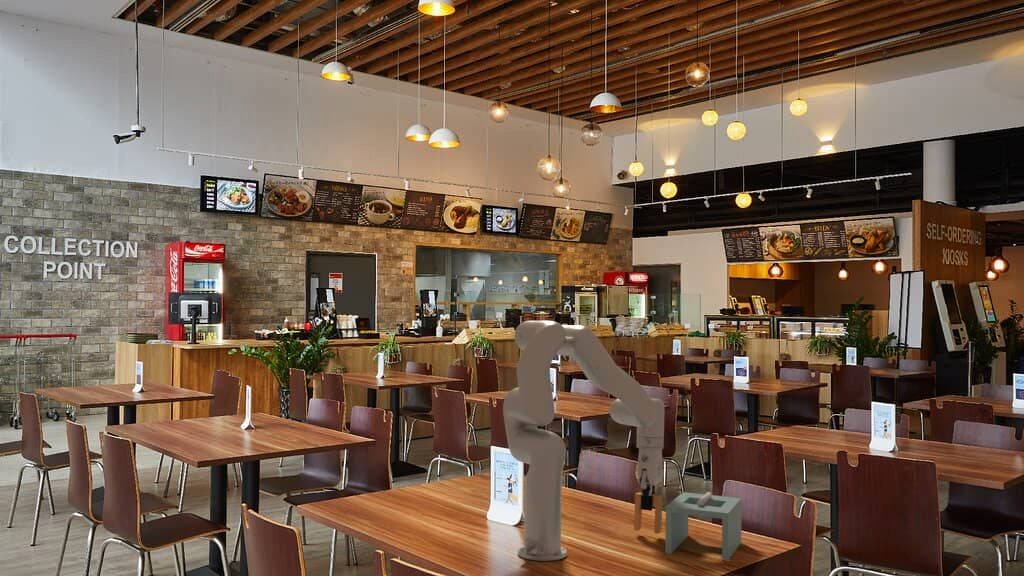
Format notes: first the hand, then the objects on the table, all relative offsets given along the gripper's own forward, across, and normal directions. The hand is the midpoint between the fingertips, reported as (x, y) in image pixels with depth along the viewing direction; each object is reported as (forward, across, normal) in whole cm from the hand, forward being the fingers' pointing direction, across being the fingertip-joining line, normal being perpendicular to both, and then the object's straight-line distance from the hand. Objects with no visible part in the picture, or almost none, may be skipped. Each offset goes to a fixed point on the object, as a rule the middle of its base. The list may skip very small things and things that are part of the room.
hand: (648, 508), depth 224 cm
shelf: (+8, -3, -16) cm, 18 cm away
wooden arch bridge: (+6, 0, 0) cm, 6 cm away
